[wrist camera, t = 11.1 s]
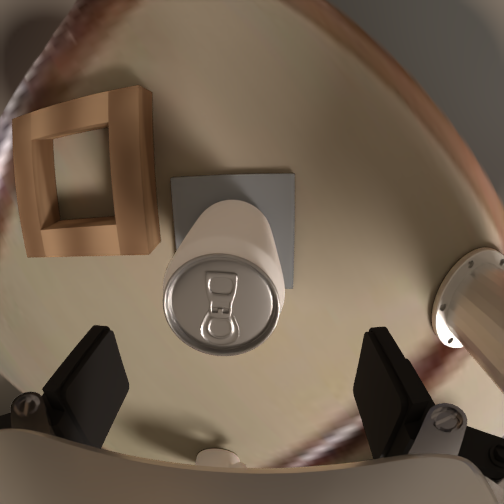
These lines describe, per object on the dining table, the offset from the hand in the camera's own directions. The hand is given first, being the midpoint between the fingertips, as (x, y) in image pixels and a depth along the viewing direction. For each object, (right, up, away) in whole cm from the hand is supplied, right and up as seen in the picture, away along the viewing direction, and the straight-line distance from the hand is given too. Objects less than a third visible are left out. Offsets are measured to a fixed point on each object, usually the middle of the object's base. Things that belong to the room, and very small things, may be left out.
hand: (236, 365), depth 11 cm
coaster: (-1, +6, +16) cm, 17 cm away
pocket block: (-14, +11, +14) cm, 23 cm away
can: (-1, +5, +15) cm, 16 cm away
